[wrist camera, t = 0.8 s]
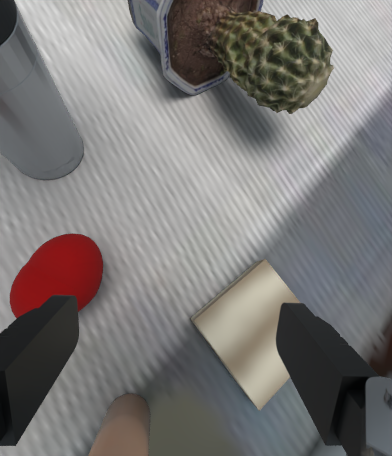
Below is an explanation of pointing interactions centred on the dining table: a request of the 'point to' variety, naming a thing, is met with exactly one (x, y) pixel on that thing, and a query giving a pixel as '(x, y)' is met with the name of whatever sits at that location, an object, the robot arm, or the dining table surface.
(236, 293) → the base slab
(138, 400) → the tall pink cylinder
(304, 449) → the dining table surface
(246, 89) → the potted plant
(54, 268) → the red heart
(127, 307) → the dining table surface
